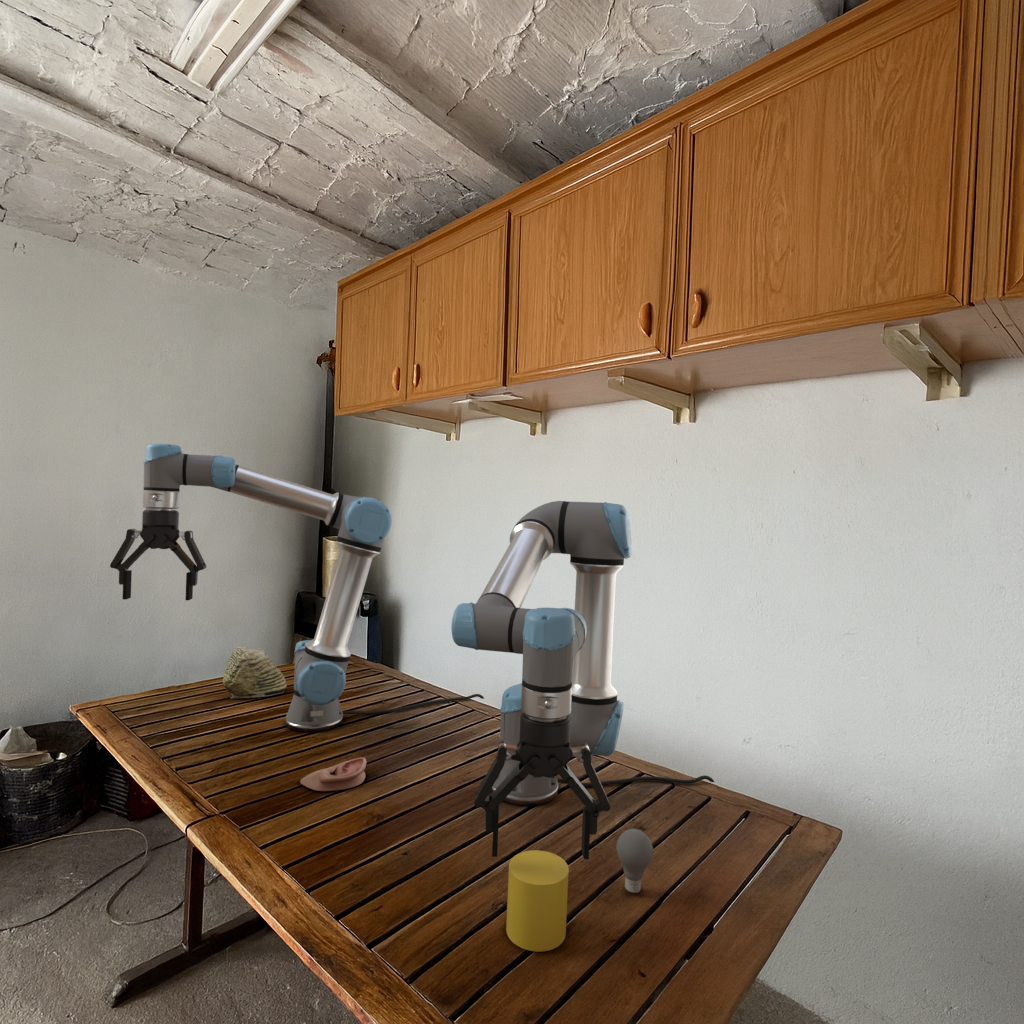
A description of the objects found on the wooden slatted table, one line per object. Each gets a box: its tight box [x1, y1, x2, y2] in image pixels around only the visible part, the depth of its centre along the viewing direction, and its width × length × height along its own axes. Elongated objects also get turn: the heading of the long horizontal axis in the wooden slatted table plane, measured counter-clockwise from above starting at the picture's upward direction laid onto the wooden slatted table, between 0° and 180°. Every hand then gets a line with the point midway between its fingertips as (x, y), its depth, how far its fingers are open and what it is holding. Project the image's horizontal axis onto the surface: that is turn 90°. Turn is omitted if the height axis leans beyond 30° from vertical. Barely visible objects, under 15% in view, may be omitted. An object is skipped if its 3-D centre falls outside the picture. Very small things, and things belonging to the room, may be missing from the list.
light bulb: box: [615, 828, 654, 894], centre depth 106 cm, size 6×6×10 cm
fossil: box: [222, 646, 288, 699], centre depth 198 cm, size 9×18×15 cm, turn 132°
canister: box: [505, 849, 570, 953], centre depth 95 cm, size 9×9×10 cm
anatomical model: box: [299, 756, 367, 792], centre depth 141 cm, size 13×4×12 cm
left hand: (158, 599), depth 150 cm, fingers open, 13 cm apart
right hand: (539, 852), depth 95 cm, fingers open, 13 cm apart
